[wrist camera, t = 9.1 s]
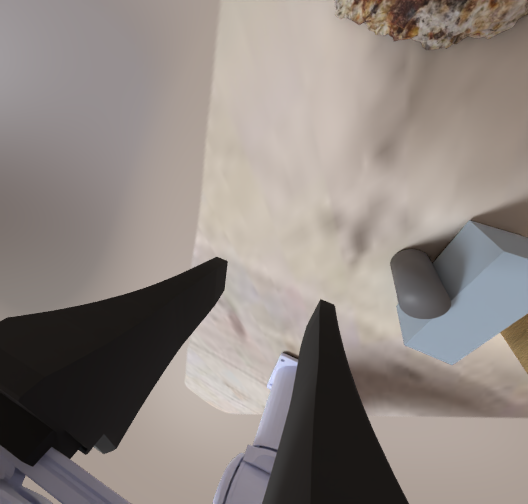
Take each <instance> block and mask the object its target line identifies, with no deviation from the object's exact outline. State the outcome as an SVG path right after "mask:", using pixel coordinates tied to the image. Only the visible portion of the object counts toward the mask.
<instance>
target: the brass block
mask: <svg viewBox="0 0 528 504" xmlns="http://www.w3.org/2000/svg"><path fill="white" fill-rule="evenodd" d="M500 333H501V334H502V336H503V337H504V339H505V340H506V342H507V343H508V345H509V346H510V348H511V349H512V351H513V352H514V354H515V355H516V357H517V358H518V360H519V361H520V363H521V364H522V366H523V367H524V369H525V371H526V372H527V374H528V314H526V315H525V316H523V317H522V318H520V319H519V320H517V321H516V322H514V323H513V324H512V325H510V326H509V327H507V328H506V329H504V330H503V331H501V332H500Z"/></svg>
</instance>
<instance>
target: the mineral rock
mask: <svg viewBox="0 0 528 504" xmlns="http://www.w3.org/2000/svg"><path fill="white" fill-rule="evenodd" d="M334 3H335V8H336V11H335V15H336V16H337V17H338V18H340V19H343V18H348V19H350V20H352V21H354V22H355V23H357V24H358V25H360V24H362V23H365V24H366V25H367V27H368V29H369V30H371V31H373V32H375V34H376V35H383V36H385V35H387V34H389V35H390V36H391V37H393V40H394V41H398V40H404V39H410V38H412V39H413V40H415V41H418V42H421V43H422V46H423V48H425V49H426V50H433V49H439V48H443V47H445V48H446V49H447V48H448V47H449V46H451V45H452V44H457V43H459V42H460V41H461V40H462V39H464V38H466V37H467V36H470V37H473V38H481V37H485V38H487V39H489V38H491V37H493V36H495V35H497V34H499V33H501V32H503V31H506V30H508V29H510V28H512V27H513V26H514V25H515V23H516V22H517V21H518V19H519V18H521V17H523V16H525V15H527V14H528V0H334Z"/></svg>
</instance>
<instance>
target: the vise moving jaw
mask: <svg viewBox="0 0 528 504" xmlns="http://www.w3.org/2000/svg"><path fill="white" fill-rule="evenodd" d="M390 265H391V270H392V275H393V279H394V284H395V289H396V293H397V298H398V302H399V304H398V305H397V306H396V307H397V312H398V316H399V321H400V326H401V331H402V336H403V341H404V345H405V346H408V347H410V348H412V349H415V350H417V351H420V352H422V353H424V354H427V355H429V356H432V357H434V358H436V359H439V360H441V361H443V362H446V363H448V364H451V365H453V364H455V363H456V362H458V361H459V360H461V359H462V358H464V357H465V356H467V355H468V354H469V353H471V352H472V351H474V350H475V349H477V348H478V347H480V346H481V345H482V344H484V343H485V342H487V341H488V340H490V339H491V338H493V337H494V336H496V335H497V334H498V333H500V332H501V331H503V330H504V329H506V328H507V327H509V326H510V325H512V324H513V323H514V322H516V321H517V320H519V319H520V318H522V317H523V316H525V315H526V314H528V238H527V237H524V236H521V235H518V234H514V233H511V232H507V231H504V230H501V229H497V228H494V227H491V226H487V225H484V224H480V223H477V222H474V221H470V220H469V221H468V222H467V224H466V225H465V226H464V227H463V228H462V229H461V231H460V232H459V233H458V234H457V235H456V237H455V238H454V239H453V240H452V241H451V242H450V244H449V245H448V246H447V247H446V248H445V249H444V251H443V252H442V253H441V254H440V255H439V256H438V258H437V259H436V260H435V261H434V262H433V264H432V262H431V260H430V258H429V257H428V255H427V254H426V253H424V252H423V251H420V250H416V249H407V250H403V251H400V252H398V253H397V254H395V255H394V256H393V258H392V259H391V262H390Z"/></svg>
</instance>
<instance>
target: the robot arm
mask: <svg viewBox="0 0 528 504" xmlns="http://www.w3.org/2000/svg"><path fill="white" fill-rule="evenodd" d="M227 263H228V261H226V260H224V259H221V258H219V257H215V258H213V259H211V260H209V261H207V262H205V263H203V264H200V265H198V266H196V267H194V268H192V269H190V270H188V271H186V272H183V273H181V274H179V275H177V276H174V277H172V278H169V279H167V280H164V281H162V282H159V283H157V284H154V285H152V286H149V287H146V288H143V289H140V290H137V291H134V292H131V293H127V294H124V295H121V296H117V297H113V298H109V299H106V300H102V301H98V302H93V303H89V304H84V305H80V306H75V307H70V308H65V309H60V310H54V311H48V312H42V313H36V314H29V315H23V316H16V317H8V318H6V319H4V320H2V321H0V504H53V503H52V502H51V501H49V500H48V499H47V498H45V497H44V496H42V495H40V494H38V493H36V492H34V491H32V490H30V489H28V488H25V487H23V486H22V482H23V480H24V478H25V475H26V476H28V477H29V478H30V479H31V480H33V481H34V482H35V483H36V484H38V485H39V486H40V487H42V488H43V489H44V490H45V491H47V492H48V493H49V494H50V495H52V496H53V497H54V498H56V499H57V500H58V501H59V502H61V503H62V504H131V503H130V502H128V501H127V500H125V499H124V498H122V497H121V496H120V495H119V494H117V493H116V492H114V491H113V490H112V489H110V488H109V487H107V486H106V485H105V484H103V483H102V482H101V481H99V480H98V479H96V478H95V477H94V476H92V475H91V474H90V473H88V472H87V471H85V470H84V469H83V468H81V467H80V466H78V465H77V464H76V463H74V462H73V461H72V460H70V459H71V457H72V456H73V455H74V454H75V453H76V452H77V450H79V451H81V452H82V453H84V454H85V455H86V454H88V453H89V451H90V450H91V449H92V447H94V448H96V449H97V450H99V451H100V452H102V453H103V454H105V453H108V452H111V451H113V450H115V449H116V448H117V447H118V445H119V443H120V442H121V440H122V438H123V436H124V435H125V433H126V431H127V429H128V428H129V426H130V425H131V423H132V421H133V420H134V418H135V416H136V415H137V413H138V411H139V410H140V408H141V407H142V405H143V403H144V402H145V400H146V398H147V397H148V395H149V394H150V392H151V390H152V389H153V387H154V386H155V384H156V383H157V381H158V380H159V378H160V377H161V375H162V374H163V372H164V371H165V369H166V368H167V366H168V365H169V363H170V362H171V360H172V359H173V357H174V356H175V355H176V353H177V352H178V350H179V349H180V348H181V346H182V345H183V343H184V342H185V341H186V340H187V339H188V337H189V336H190V335H191V334H192V333H193V331H194V330H195V329H196V328H197V327H198V325H199V324H200V323H201V322H202V320H203V319H204V318H205V317H206V316H207V314H208V313H209V312H210V311H211V309H212V308H213V307H214V306H215V304H216V303H217V301H218V299H219V298H220V296H221V295H222V293H223V291H224V289H225V280H226V272H227ZM267 388H268V389H270V390H271V391H270V394H269V397H268V400H267V403H266V406H265V409H264V412H263V415H262V418H261V421H260V425H259V428H258V431H257V434H256V437H255V440H254V443H253V446H251V445H248V446H247V449H246V452H245V454H244V453H239V454H238V455H237V456H236V457H234V458H233V459H232V460H231V461H230V463H229V464H228V466H227V468H226V469H225V471H224V474H223V476H222V478H221V480H220V483H219V485H218V488H217V491H216V494H215V496H214V500H213V503H212V504H409V503H408V501H407V499H406V497H405V495H404V493H403V491H402V489H401V487H400V485H399V483H398V482H397V479H396V478H395V476H394V474H393V471H392V469H391V467H390V465H389V463H388V461H387V459H386V456H385V454H384V452H383V450H382V448H381V446H380V444H379V442H378V439H377V437H376V435H375V433H374V431H373V428H372V426H371V424H370V421H369V419H368V417H367V414H366V412H365V409H364V407H363V404H362V402H361V399H360V397H359V394H358V391H357V388H356V386H355V383H354V380H353V377H352V374H351V371H350V368H349V365H348V361H347V358H346V354H345V351H344V347H343V343H342V339H341V335H340V331H339V326H338V321H337V316H336V310H335V306H334V304H331V303H329V302H326V301H324V300H321V299H320V301H319V303H318V305H317V307H316V309H315V311H314V313H313V315H312V317H311V319H310V321H309V323H308V325H307V327H306V330H305V334H304V337H303V340H302V344H301V348H300V353H299V359H295V358H293V357H291V356H289V355H287V354H285V353H282V354H281V355H280V357H279V359H278V362H277V364H276V366H275V368H274V370H273V373H272V375H271V377H270V379H269V381H268V384H267Z"/></svg>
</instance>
